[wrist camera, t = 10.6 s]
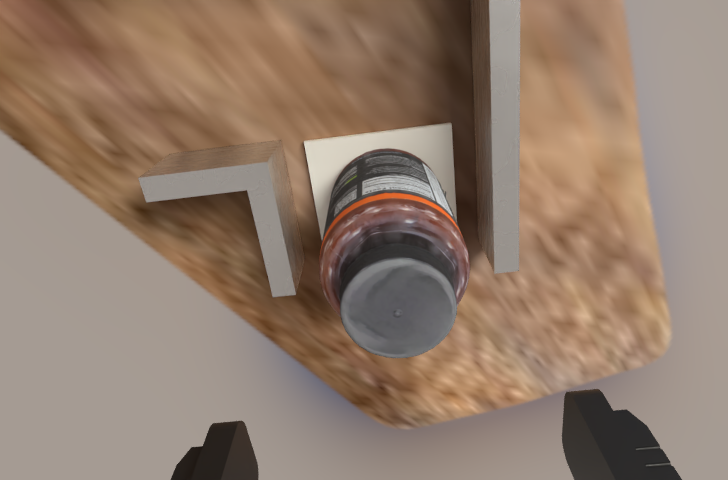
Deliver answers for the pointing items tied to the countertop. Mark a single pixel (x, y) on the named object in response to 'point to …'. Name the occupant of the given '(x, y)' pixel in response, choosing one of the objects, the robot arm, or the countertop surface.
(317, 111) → the countertop surface
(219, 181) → the grey angled wall frame
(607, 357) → the countertop surface
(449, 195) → the pad
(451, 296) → the supplement bottle
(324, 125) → the countertop surface
